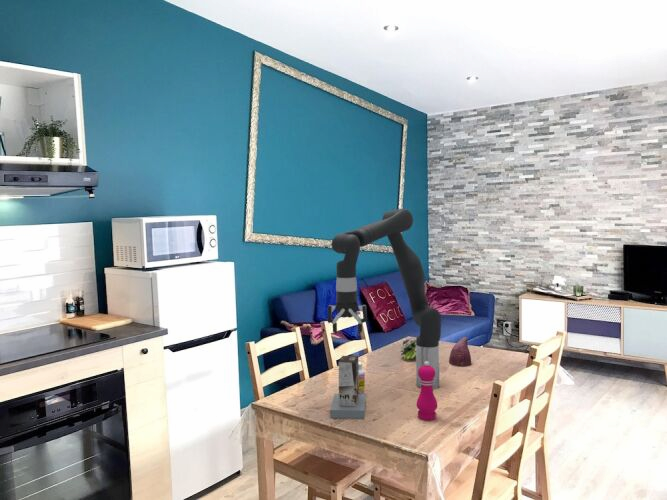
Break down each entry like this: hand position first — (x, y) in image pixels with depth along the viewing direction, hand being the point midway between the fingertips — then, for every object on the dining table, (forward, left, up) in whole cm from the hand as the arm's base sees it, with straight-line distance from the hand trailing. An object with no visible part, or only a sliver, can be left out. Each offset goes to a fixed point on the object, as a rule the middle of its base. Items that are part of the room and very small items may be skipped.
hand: (347, 333), depth 185 cm
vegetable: (-49, -60, -29) cm, 83 cm away
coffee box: (0, 0, -26) cm, 26 cm away
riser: (0, 0, -29) cm, 29 cm away
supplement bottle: (-2, -16, -29) cm, 33 cm away
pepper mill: (-28, +5, -29) cm, 40 cm away
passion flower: (-27, -68, -29) cm, 78 cm away
